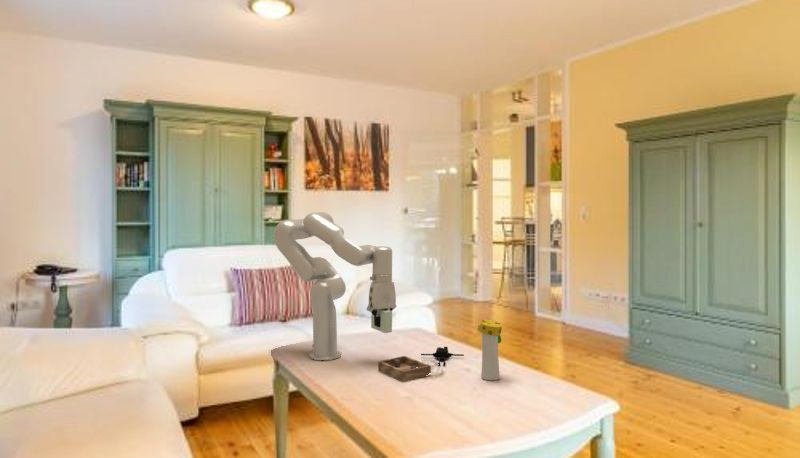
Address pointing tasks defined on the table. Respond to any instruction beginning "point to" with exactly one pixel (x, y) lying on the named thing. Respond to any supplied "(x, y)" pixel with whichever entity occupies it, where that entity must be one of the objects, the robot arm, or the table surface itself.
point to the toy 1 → (443, 354)
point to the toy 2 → (490, 348)
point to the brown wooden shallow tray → (404, 368)
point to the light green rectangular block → (383, 321)
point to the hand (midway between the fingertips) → (381, 325)
